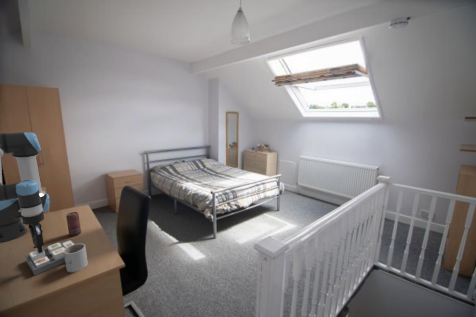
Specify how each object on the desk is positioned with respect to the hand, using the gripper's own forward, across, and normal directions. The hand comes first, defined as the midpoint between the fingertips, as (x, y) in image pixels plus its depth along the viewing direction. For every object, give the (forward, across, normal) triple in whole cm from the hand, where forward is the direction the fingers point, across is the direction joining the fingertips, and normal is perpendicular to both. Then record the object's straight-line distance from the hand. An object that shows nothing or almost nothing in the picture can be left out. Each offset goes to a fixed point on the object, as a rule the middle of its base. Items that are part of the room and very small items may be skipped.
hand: (41, 257), depth 108 cm
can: (+6, -22, +21) cm, 31 cm away
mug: (+5, +12, +11) cm, 17 cm away
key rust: (+5, 0, 0) cm, 5 cm away
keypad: (+5, -3, +6) cm, 9 cm away
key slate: (+3, -7, 0) cm, 8 cm away
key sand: (+3, 0, +7) cm, 8 cm away
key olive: (+3, -7, +7) cm, 10 cm away
